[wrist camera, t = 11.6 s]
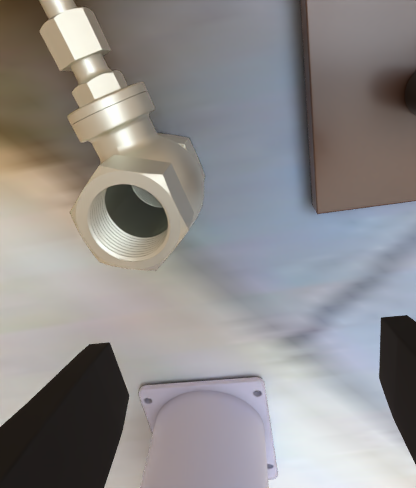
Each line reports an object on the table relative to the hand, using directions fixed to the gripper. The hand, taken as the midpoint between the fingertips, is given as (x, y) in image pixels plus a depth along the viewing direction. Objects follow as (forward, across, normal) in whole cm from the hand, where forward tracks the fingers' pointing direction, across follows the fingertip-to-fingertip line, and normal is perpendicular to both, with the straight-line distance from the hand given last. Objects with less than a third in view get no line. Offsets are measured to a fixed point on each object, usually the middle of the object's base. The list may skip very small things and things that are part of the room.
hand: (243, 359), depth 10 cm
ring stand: (+9, -8, -5) cm, 13 cm away
